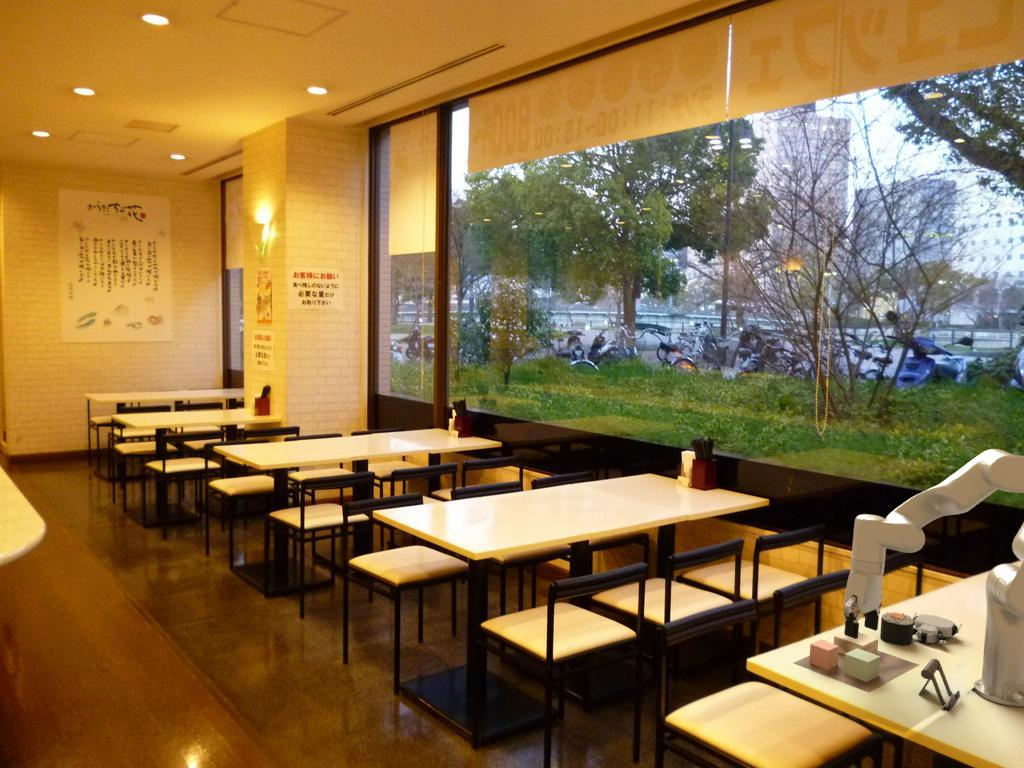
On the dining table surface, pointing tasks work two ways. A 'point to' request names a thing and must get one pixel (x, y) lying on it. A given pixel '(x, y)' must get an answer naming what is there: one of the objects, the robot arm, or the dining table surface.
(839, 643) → the birch base block
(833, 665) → the terracotta block
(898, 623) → the sushi
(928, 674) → the portable electronic device stand
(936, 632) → the robot toy
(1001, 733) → the dining table surface
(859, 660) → the green block
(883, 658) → the walnut board
